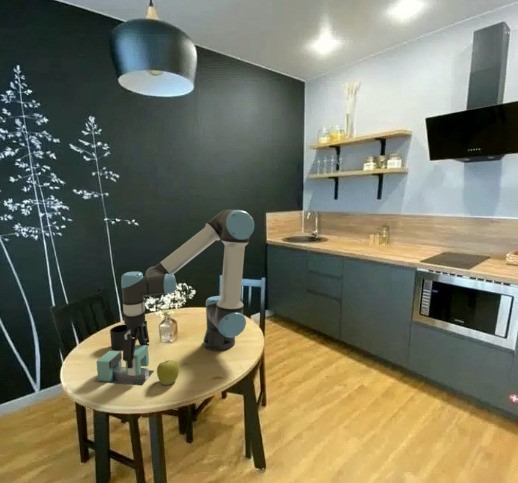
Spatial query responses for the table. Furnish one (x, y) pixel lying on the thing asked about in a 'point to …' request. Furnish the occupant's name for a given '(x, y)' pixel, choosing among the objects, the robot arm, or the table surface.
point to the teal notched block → (108, 365)
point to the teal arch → (140, 358)
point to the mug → (117, 337)
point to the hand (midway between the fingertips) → (138, 368)
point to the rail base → (127, 376)
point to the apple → (167, 372)
